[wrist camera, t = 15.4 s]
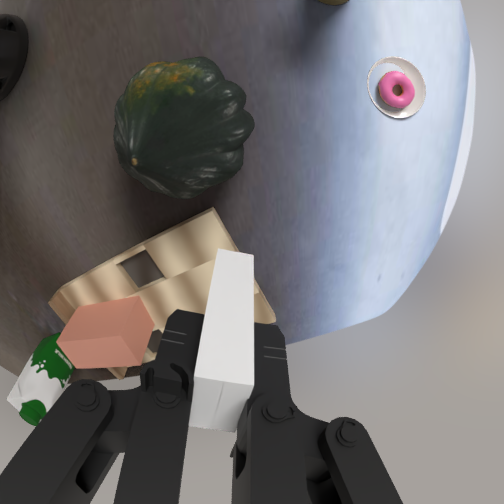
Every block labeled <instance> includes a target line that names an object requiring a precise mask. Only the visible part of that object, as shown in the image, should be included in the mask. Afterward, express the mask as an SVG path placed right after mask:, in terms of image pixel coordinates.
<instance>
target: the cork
mask: <svg viewBox="0 0 504 504" xmlns="http://www.w3.org/2000/svg"><path fill="white" fill-rule="evenodd" d="M318 1H320V2H322V3H325V4H329V5H340V4H343V3H345V2H347V1H348V0H318Z"/></svg>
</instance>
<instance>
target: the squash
mask: <svg viewBox="0 0 504 504" xmlns="http://www.w3.org/2000/svg"><path fill="white" fill-rule="evenodd" d="M245 102H246V94H245V92H244V91H243V90H242V88H241V87H240V86H238V85H237V84H235V83H233V82H231V81H227V80H225V78H224V76H223V74H222V72H221V70H220V69H219V67H218V66H217V65H216V64H215V63H214V62H213V61H212V60H210V59H208V58H206V57H195V58H190V59H184V60H181V61H178V62H175V63H172V62H155V63H151V64H149V65H147V66H146V67H144V68H143V69H141V70H140V71H139V72H138V73H136V74H135V75H134V76H133V77H132V78H131V80H130V82H129V83H128V85H127V87H126V90H125V92H124V94H122V95H121V96H120V98H119V99H118V101H117V103H116V107H115V122H116V125H115V128H114V143H115V148H116V151H117V153H118V158H119V162H120V164H121V166H122V168H123V169H124V170H125V172H126V173H128V174H129V175H130V176H131V177H133V178H135V179H137V180H139V181H140V182H141V183H142V184H143V185H144V186H145V187H146V188H147V189H149V190H150V191H153V192H159V193H163V194H165V195H167V196H170V197H173V198H181V199H191V198H194V197H195V196H197V195H199V194H201V193H203V192H204V191H205V190H206V189H207V188H209V187H212V186H214V185H217V184H219V183H222V182H224V181H227V180H229V179H230V178H232V177H233V176H234V175H235V174H236V173H237V172H238V171H239V170H240V169H241V167H242V164H243V155H244V148H243V143H244V142H245V141H246V140H247V138H248V137H249V136H250V134H251V132H252V131H253V129H254V125H255V124H254V119H253V117H252V116H251V114H250V113H249V112H247V111H246V110H244V109H243V108H244V105H245Z"/></svg>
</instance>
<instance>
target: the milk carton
mask: <svg viewBox="0 0 504 504" xmlns="http://www.w3.org/2000/svg"><path fill="white" fill-rule="evenodd" d="M60 335H61V334H60V332H59V333H56V334H54V335H52V336H49V337H47V338H44V339H43V340H42V341H41V342H40V344H39V345H38V347H37V348H36V349H35V351H34V352H33V354H32V356H31V357H30V359H29V361H28V362H27V364H26V366H25V367H24V369H23V371H22V372H21V374H20V376H19V378H18V380H17V382H16V383H15V385H14V387H13V389H12V390H11V392H10V393H9V395H8V397H7V398H6V399H7V400H8V401H9V402H10V403H11V404H12V405H13V406H14V407H15V408H16V409H17V410H19V411H20V412H19V414H20V416H21V417H22V418H23V419H24V420H25V421H26V422H28V423H29V424H31V425H34V426H37V425H38V424H39V422H40V421H41V420H42V418H43V417H44V416H45V415H46V413H47V412H48V411H49V409H50V408H51V407H52V406H53V404H54V403H55V402H56V401H57V399H58V398H59V397H60V396H61V394H62V393H63V392H64V389H65V387H66V385H67V383H68V381H69V379H70V377H71V375H72V373H73V370H74V368H75V366H74V365H73V364H72V363H71V361H70V360H69V359H68V357H67V356H66V355H65V354H64V352H63V351H62V350H61V348H60V347H59V346H58V344H57V343H56V341H57V340H58V338H59V336H60Z"/></svg>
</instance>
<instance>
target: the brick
mask: <svg viewBox="0 0 504 504" xmlns="http://www.w3.org/2000/svg"><path fill="white" fill-rule="evenodd" d="M154 325H155V324H154V322H153V320H152V318H151V317H150V315H149V313H148V311H147V309H146V307H145V306H144V304H143V302H142V300H141V298H140V296H139V295H138V296H133V297H128V298H123V299H117V300H112V301H107V302H101V303H96V304H90V305H85V306H79V307H78V308H77V309H76V311H75V312H74V314H73V315H72V317H71V319H70V320H69V322H68V323H67V325H66V327H65V328H64V330H63V331H62V333H61V335H60V336H59V338H58V340H57V341H56V343H57V344H58V346H59V347H60V348H61V350H62V351H63V352H64V354H65V355H66V356H67V357H68V359H69V360H70V361H71V363H72V364H73V365H74V366H75V368H76V369H78V368H107V367H125V366H139V365H141V363H142V360H143V357H144V354H145V351H146V348H147V345H148V342H149V339H150V336H151V334H152V331H153V328H154Z"/></svg>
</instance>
